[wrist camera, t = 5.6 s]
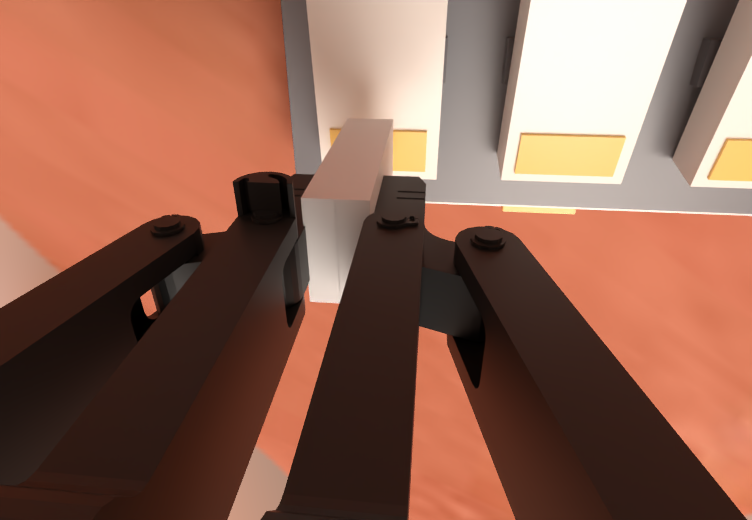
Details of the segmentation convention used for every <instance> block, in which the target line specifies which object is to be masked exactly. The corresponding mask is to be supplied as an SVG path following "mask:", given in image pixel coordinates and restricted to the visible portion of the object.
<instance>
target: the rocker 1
mask: <svg viewBox="0 0 752 520" xmlns="http://www.w3.org/2000/svg"><path fill="white" fill-rule="evenodd" d="M306 5H307V16H308V26H309V36H310V47H311V57H312V67H313V78H314V88H315V98H316V108H317V119H318V129H319V139H320V150H321V160H322V161H323V160H324V158H325V156H326V154H327V153H328V151H329V149H330V148H331V146H332V144H333V143H334V141H335V139H336V138H337V136H338V134H339V132H340V131H341V129H342V127H343V126H344V124H345V122H346V121H347V119H348V118H359V119H393V176H416V177H420V178H421V179H431V180H436V178H437V163H438V147H439V131H440V115H441V100H442V84H443V68H444V53H445V37H446V21H447V5H448V0H306Z"/></svg>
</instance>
